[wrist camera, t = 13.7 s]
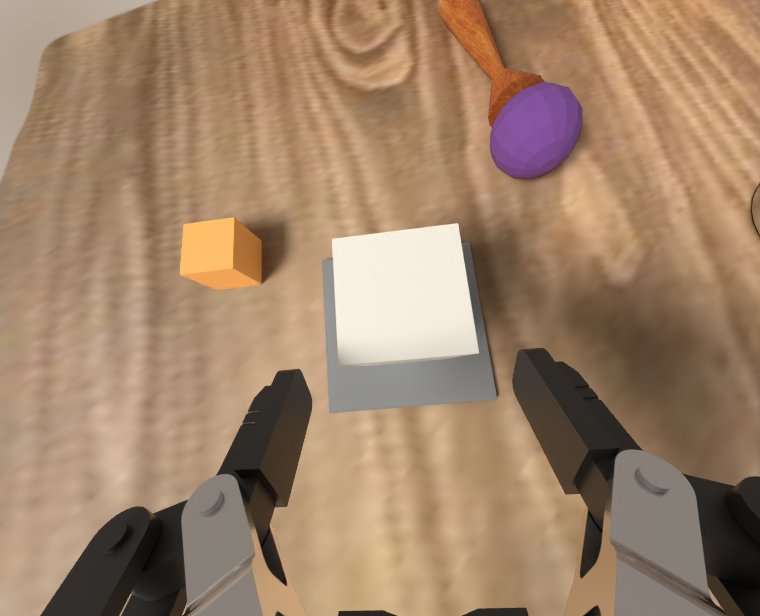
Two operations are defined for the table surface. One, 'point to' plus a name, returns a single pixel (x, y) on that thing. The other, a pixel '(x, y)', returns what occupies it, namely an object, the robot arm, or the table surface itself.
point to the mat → (407, 366)
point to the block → (221, 254)
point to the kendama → (517, 101)
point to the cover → (402, 297)
